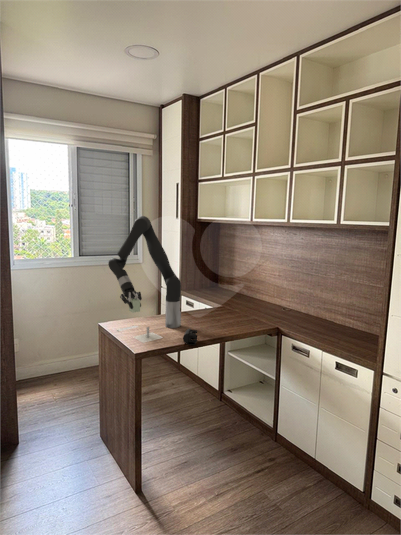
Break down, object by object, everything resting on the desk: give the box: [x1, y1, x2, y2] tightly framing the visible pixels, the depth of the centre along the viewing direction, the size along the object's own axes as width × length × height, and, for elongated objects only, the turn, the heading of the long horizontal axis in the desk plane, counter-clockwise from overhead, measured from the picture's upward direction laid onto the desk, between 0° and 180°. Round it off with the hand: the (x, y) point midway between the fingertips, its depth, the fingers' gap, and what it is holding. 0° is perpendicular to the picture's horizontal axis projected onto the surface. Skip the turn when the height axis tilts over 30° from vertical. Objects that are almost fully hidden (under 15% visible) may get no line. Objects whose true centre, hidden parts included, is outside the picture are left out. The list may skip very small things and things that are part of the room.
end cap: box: [182, 328, 198, 346], centre depth 208 cm, size 10×7×7 cm
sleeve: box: [128, 299, 141, 313], centre depth 220 cm, size 5×5×7 cm
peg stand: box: [132, 326, 164, 344], centre depth 210 cm, size 14×12×8 cm
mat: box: [116, 325, 139, 332], centre depth 225 cm, size 14×14×1 cm
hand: (136, 307), depth 219 cm, fingers closed on sleeve, 4 cm apart
